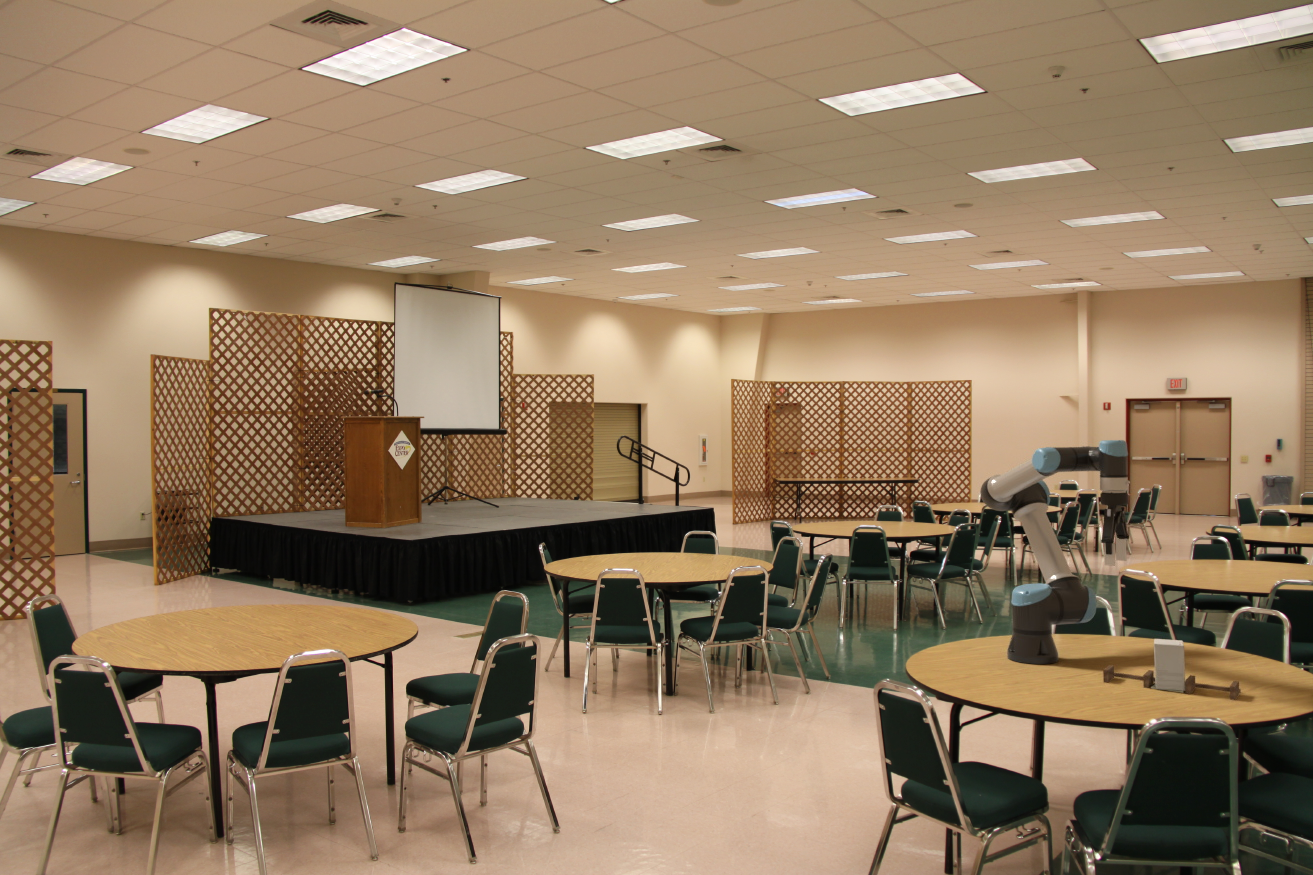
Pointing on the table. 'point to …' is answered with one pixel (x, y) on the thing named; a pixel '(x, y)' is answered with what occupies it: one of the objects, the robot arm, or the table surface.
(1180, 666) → the supplement box
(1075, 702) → the table surface
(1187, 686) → the notch rail
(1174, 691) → the pad
